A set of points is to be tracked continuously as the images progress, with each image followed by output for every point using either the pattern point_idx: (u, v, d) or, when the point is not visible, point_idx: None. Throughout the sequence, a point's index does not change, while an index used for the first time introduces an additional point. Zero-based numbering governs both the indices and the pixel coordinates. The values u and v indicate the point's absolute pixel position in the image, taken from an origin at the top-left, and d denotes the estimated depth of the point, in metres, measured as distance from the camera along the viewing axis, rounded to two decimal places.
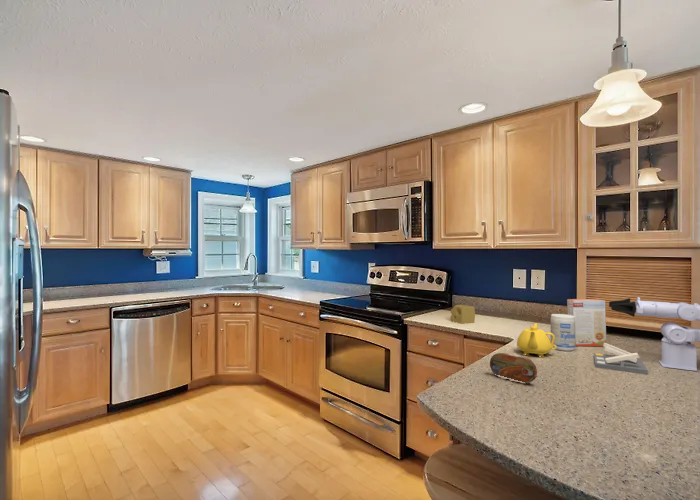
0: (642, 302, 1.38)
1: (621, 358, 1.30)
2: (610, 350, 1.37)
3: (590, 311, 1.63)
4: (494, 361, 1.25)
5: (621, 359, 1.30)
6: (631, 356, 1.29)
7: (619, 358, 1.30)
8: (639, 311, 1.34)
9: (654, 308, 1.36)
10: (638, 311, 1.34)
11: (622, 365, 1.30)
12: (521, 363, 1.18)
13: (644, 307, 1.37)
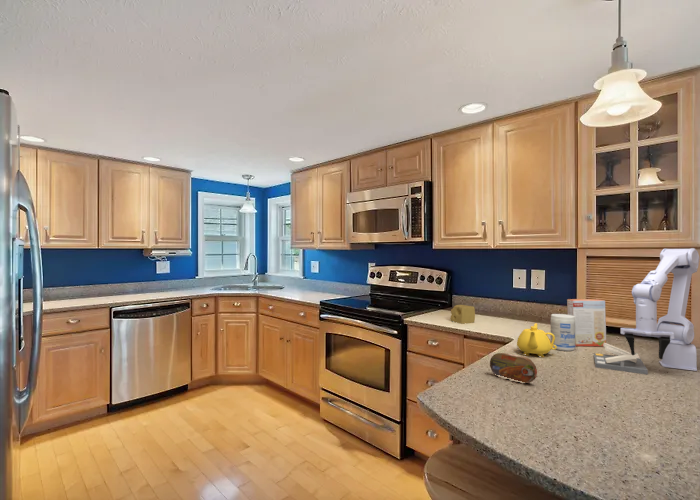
0: (653, 330, 1.25)
1: (621, 358, 1.30)
2: (610, 350, 1.37)
3: (590, 311, 1.63)
4: (494, 361, 1.25)
5: (621, 359, 1.30)
6: (631, 356, 1.29)
7: (619, 358, 1.30)
8: None
9: (656, 320, 1.25)
10: None
11: (622, 365, 1.30)
12: (521, 363, 1.18)
13: (656, 328, 1.25)
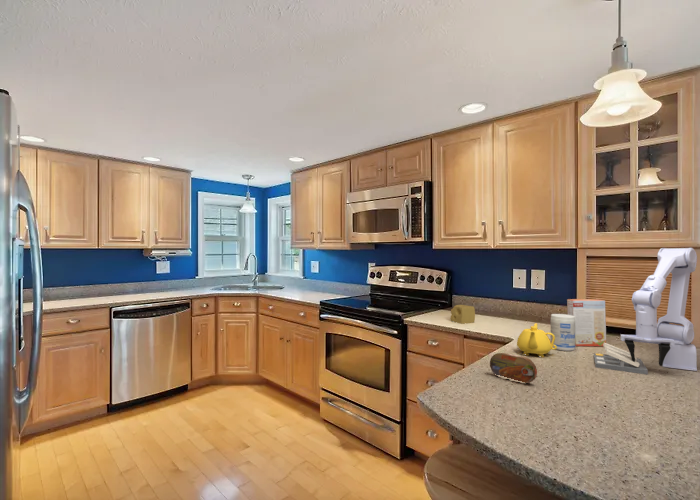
0: (653, 337, 1.25)
1: (621, 358, 1.30)
2: (610, 350, 1.37)
3: (590, 311, 1.63)
4: (494, 361, 1.25)
5: (621, 358, 1.30)
6: (632, 362, 1.28)
7: (620, 357, 1.30)
8: None
9: (656, 326, 1.25)
10: None
11: (622, 365, 1.30)
12: (521, 363, 1.18)
13: (656, 335, 1.25)
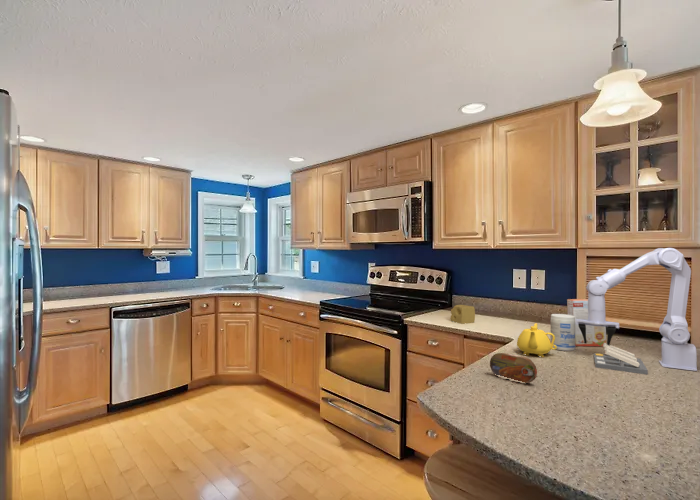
0: (601, 320, 1.42)
1: (621, 358, 1.30)
2: (610, 350, 1.37)
3: None
4: (494, 361, 1.25)
5: (621, 358, 1.30)
6: (632, 362, 1.28)
7: (620, 357, 1.30)
8: (618, 325, 1.41)
9: None
10: (618, 326, 1.41)
11: (622, 365, 1.30)
12: (521, 363, 1.18)
13: None
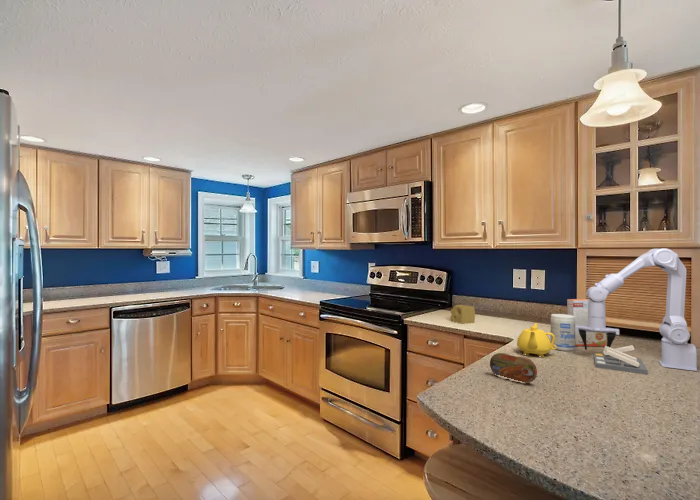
0: (601, 327, 1.42)
1: (621, 358, 1.30)
2: (610, 350, 1.37)
3: None
4: (494, 361, 1.25)
5: (621, 358, 1.30)
6: (632, 362, 1.28)
7: (620, 357, 1.30)
8: (618, 332, 1.41)
9: None
10: (618, 332, 1.41)
11: (622, 365, 1.30)
12: (521, 363, 1.18)
13: None
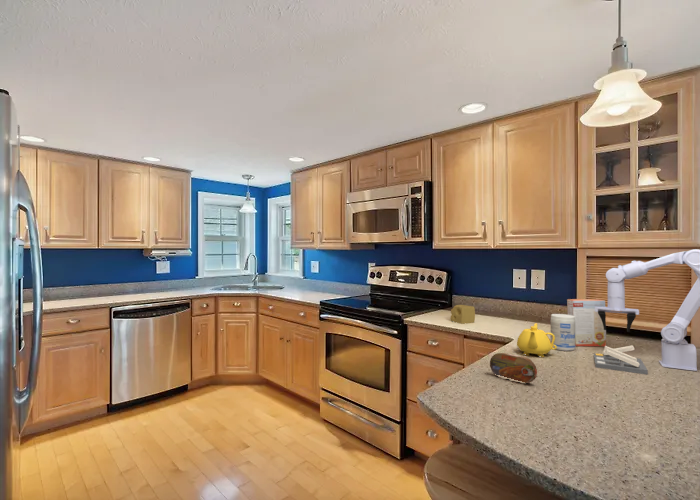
0: (621, 307, 1.45)
1: (621, 358, 1.30)
2: (610, 350, 1.37)
3: (590, 311, 1.63)
4: (494, 361, 1.25)
5: (621, 358, 1.30)
6: (632, 362, 1.28)
7: (620, 357, 1.30)
8: (638, 312, 1.45)
9: (624, 298, 1.46)
10: (638, 312, 1.45)
11: (622, 365, 1.30)
12: (521, 363, 1.18)
13: (624, 306, 1.46)
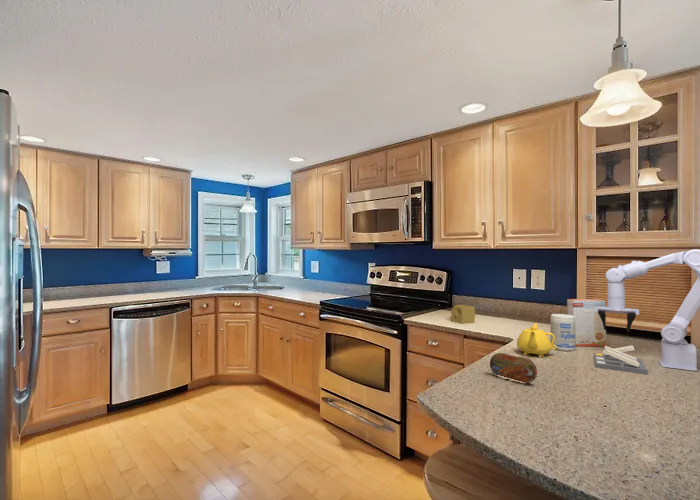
0: (621, 307, 1.45)
1: (621, 358, 1.30)
2: (610, 350, 1.37)
3: (590, 311, 1.63)
4: (494, 361, 1.25)
5: (621, 358, 1.30)
6: (632, 362, 1.28)
7: (620, 357, 1.30)
8: (638, 312, 1.45)
9: (624, 298, 1.46)
10: (638, 312, 1.45)
11: (622, 365, 1.30)
12: (521, 364, 1.18)
13: (624, 306, 1.46)
